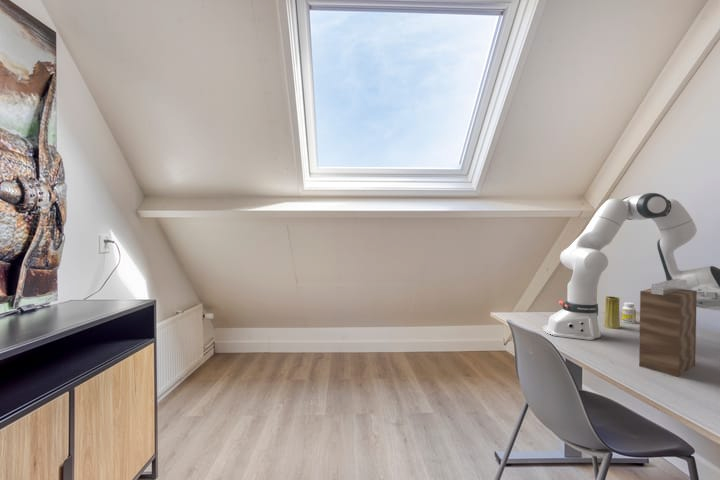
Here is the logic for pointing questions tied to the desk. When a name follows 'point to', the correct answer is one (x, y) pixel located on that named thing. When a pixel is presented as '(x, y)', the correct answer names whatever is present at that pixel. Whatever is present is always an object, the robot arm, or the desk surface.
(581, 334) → the robot arm
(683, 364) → the pedestal
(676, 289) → the block
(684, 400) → the desk surface
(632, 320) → the supplement bottle
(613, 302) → the vase
